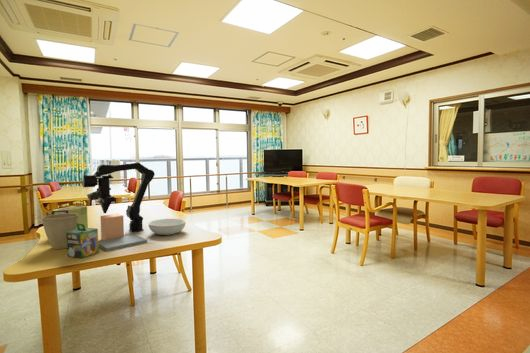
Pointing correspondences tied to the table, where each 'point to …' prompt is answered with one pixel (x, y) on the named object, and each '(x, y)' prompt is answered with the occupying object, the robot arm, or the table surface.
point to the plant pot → (59, 228)
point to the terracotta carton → (112, 226)
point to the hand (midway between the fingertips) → (104, 213)
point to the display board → (121, 242)
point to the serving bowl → (166, 226)
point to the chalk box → (82, 242)
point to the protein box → (78, 210)
